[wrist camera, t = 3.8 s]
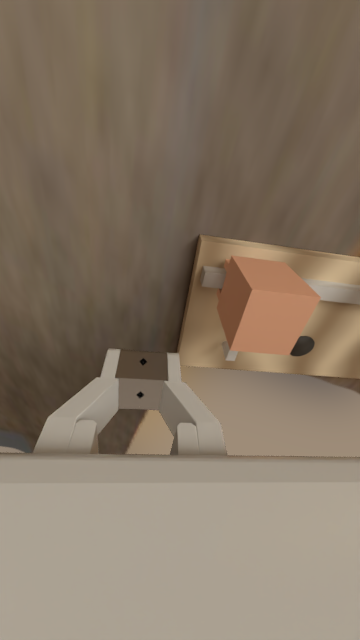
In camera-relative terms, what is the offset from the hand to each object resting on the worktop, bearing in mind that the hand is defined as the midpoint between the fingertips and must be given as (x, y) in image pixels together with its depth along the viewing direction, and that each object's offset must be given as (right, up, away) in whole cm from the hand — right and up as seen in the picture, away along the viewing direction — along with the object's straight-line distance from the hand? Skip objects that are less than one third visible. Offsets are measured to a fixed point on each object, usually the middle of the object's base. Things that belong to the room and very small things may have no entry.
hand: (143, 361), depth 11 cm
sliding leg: (+6, +3, +10) cm, 12 cm away
